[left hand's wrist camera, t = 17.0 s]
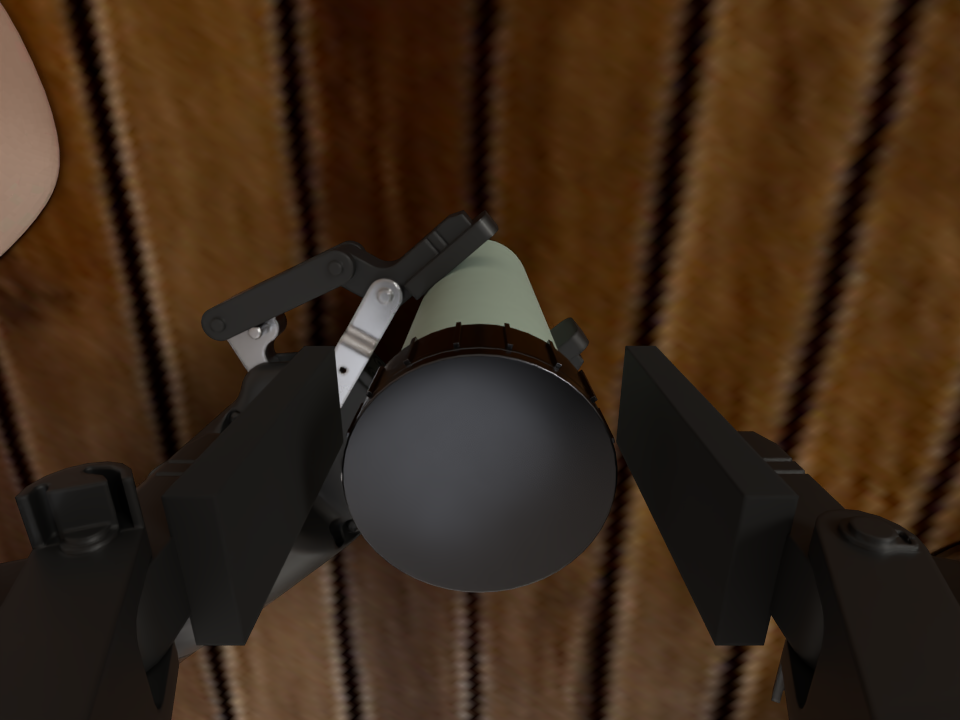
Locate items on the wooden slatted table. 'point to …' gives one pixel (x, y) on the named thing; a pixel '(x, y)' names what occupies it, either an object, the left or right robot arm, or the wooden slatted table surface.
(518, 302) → the pale green cylinder
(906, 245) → the wooden slatted table surface
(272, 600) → the right robot arm
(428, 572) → the lid
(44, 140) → the anatomical model
